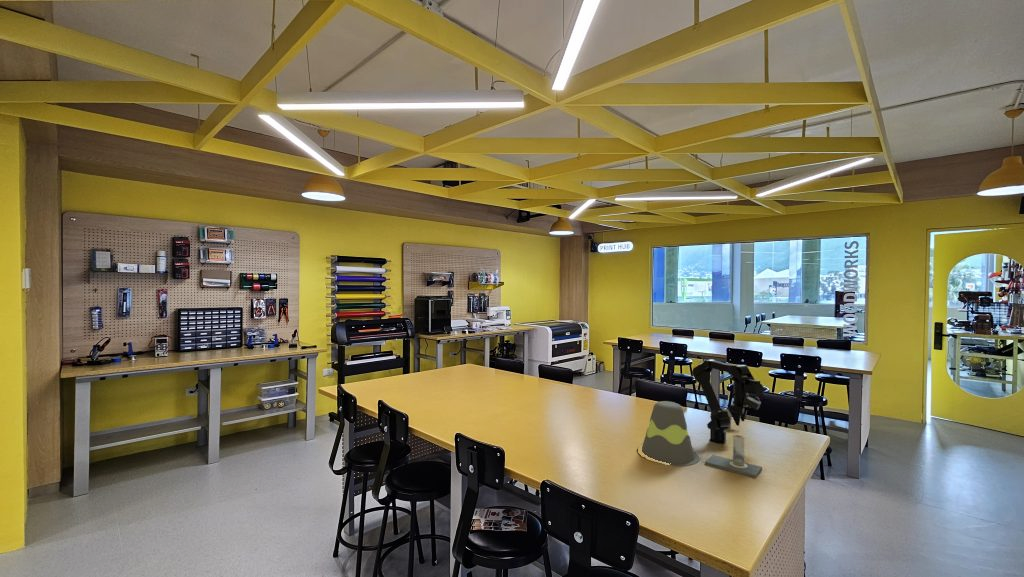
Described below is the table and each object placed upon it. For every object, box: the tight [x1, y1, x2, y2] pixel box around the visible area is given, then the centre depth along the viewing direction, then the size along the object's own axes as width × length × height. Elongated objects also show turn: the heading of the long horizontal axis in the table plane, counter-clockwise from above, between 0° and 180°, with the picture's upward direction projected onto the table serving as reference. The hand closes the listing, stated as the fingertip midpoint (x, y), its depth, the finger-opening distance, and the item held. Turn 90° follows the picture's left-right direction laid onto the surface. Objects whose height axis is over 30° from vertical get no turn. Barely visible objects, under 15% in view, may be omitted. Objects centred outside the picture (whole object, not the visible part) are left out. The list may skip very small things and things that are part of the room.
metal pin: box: [732, 434, 745, 467], centre depth 185 cm, size 4×4×12 cm
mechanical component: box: [721, 408, 733, 429], centre depth 240 cm, size 3×10×10 cm, turn 79°
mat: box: [704, 454, 763, 479], centre depth 185 cm, size 20×11×1 cm, turn 48°
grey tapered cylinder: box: [642, 400, 701, 467], centre depth 200 cm, size 28×28×24 cm
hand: (740, 423), depth 205 cm, fingers open, 9 cm apart
